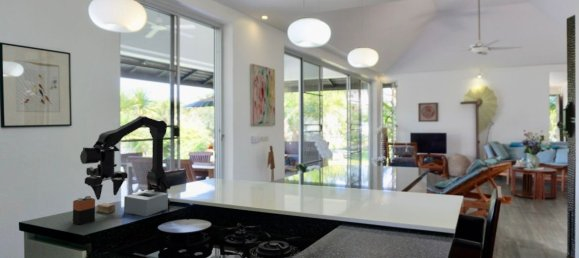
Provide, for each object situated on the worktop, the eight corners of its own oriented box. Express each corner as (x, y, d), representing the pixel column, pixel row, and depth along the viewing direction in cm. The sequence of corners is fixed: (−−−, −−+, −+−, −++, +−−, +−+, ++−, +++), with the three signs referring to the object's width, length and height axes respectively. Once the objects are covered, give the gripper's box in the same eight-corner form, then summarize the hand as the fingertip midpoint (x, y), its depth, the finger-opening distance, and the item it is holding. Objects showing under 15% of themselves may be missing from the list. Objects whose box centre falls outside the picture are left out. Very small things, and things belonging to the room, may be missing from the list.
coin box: (146, 205, 182) (146, 190, 182) (167, 208, 178) (168, 193, 177) (124, 212, 169) (124, 196, 168) (146, 216, 165) (146, 200, 164)
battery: (95, 221, 155) (95, 196, 154) (79, 225, 149) (79, 199, 148) (88, 219, 157) (88, 195, 156) (72, 223, 151) (72, 198, 150)
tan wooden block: (104, 209, 173) (104, 202, 172) (115, 211, 171) (115, 204, 170) (97, 211, 169) (97, 204, 169) (108, 213, 167) (108, 206, 167)
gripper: (109, 157, 180) (109, 191, 181) (74, 162, 163) (74, 199, 163) (128, 160, 176) (128, 193, 177) (95, 165, 159) (94, 203, 160)
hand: (106, 197), depth 169 cm, fingers open, 9 cm apart
